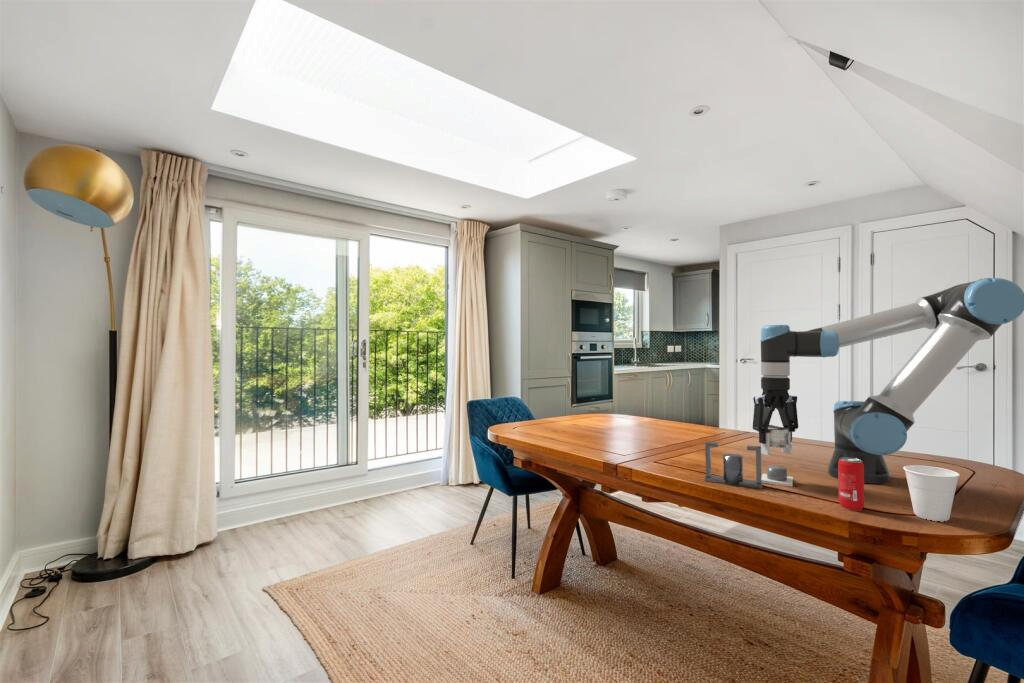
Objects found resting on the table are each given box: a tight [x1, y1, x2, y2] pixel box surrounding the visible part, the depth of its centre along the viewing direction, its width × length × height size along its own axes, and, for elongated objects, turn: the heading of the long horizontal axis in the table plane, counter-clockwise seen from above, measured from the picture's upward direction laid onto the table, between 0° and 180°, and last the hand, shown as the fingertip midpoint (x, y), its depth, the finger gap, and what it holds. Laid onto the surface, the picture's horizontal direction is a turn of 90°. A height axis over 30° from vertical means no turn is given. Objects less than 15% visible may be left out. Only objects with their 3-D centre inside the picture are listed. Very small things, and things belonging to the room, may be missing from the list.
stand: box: [762, 465, 794, 488], centre depth 139 cm, size 8×8×4 cm
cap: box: [767, 424, 793, 450], centre depth 139 cm, size 11×7×6 cm, turn 13°
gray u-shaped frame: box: [704, 441, 764, 489], centre depth 138 cm, size 15×5×11 cm, turn 58°
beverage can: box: [837, 457, 865, 512], centre depth 117 cm, size 5×5×12 cm
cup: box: [902, 464, 961, 523], centre depth 110 cm, size 10×10×11 cm
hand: (775, 453), depth 139 cm, fingers closed on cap, 7 cm apart
